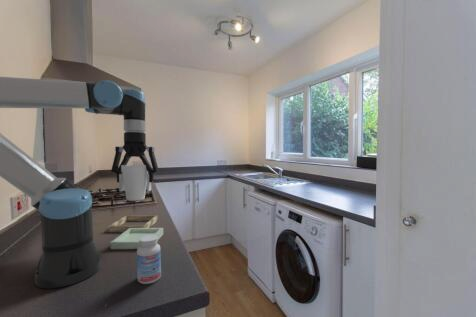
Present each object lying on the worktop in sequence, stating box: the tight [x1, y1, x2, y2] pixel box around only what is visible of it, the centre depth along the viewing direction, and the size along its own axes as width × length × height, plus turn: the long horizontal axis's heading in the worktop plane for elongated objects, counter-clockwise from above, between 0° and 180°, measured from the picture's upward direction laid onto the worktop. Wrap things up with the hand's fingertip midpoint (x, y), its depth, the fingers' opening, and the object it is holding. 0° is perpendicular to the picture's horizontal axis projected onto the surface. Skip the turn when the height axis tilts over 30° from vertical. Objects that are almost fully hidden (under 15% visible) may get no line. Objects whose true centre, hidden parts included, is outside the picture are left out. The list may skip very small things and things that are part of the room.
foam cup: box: [121, 163, 148, 202], centre depth 87 cm, size 10×9×13 cm
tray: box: [109, 227, 164, 250], centre depth 87 cm, size 14×14×2 cm
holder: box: [107, 214, 159, 233], centre depth 104 cm, size 16×16×2 cm
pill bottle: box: [136, 235, 162, 285], centre depth 62 cm, size 6×6×11 cm
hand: (135, 190), depth 87 cm, fingers closed on foam cup, 9 cm apart
